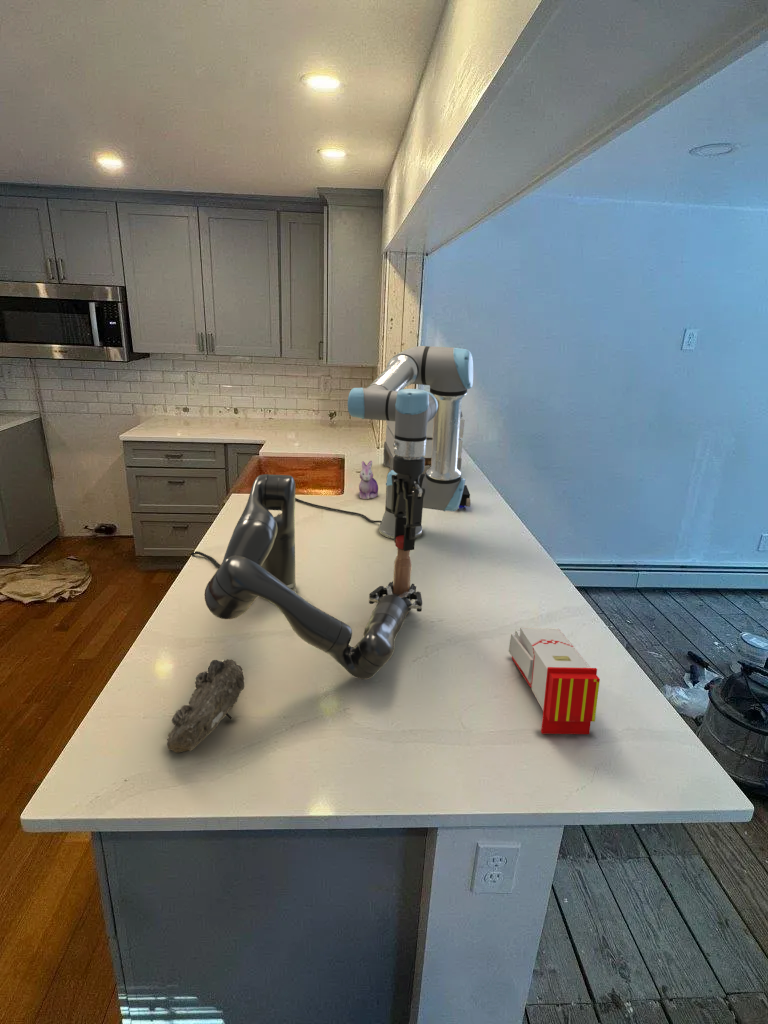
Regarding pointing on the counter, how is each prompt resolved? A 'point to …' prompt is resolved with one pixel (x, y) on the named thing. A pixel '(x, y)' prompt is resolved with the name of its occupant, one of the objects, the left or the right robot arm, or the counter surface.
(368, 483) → the figurine
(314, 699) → the counter surface
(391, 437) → the grey tiered storage bin
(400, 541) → the cap
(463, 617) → the counter surface
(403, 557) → the bottle
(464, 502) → the figurine character
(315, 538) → the counter surface
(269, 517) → the left robot arm
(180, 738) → the fossil
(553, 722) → the toy
